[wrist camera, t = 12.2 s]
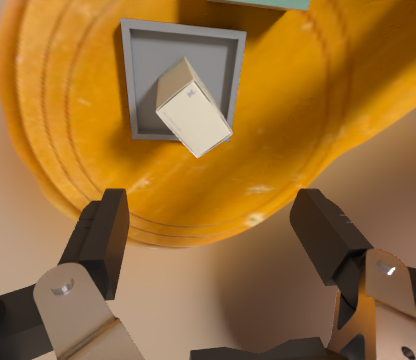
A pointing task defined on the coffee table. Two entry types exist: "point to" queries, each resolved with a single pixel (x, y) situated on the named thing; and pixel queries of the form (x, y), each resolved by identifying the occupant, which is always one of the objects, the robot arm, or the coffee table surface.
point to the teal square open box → (271, 4)
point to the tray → (167, 56)
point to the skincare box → (190, 109)
